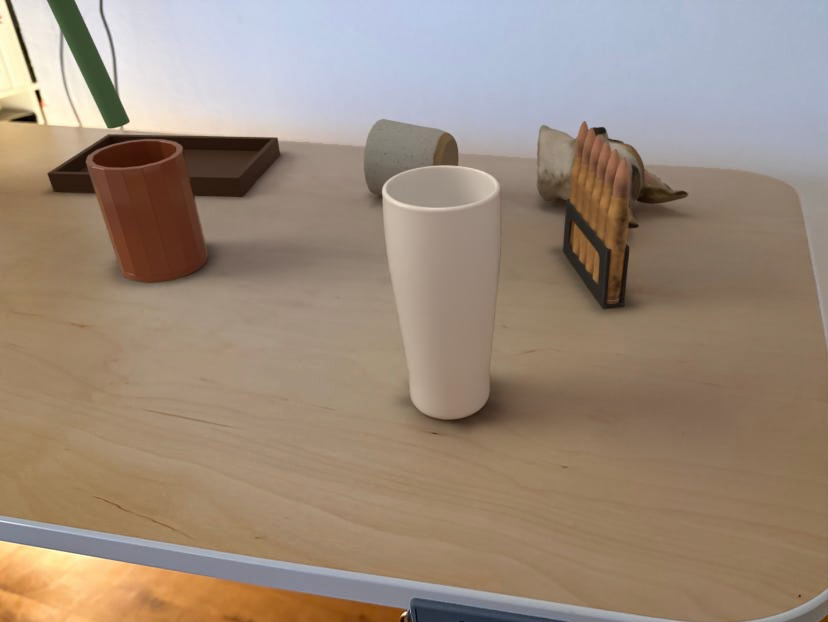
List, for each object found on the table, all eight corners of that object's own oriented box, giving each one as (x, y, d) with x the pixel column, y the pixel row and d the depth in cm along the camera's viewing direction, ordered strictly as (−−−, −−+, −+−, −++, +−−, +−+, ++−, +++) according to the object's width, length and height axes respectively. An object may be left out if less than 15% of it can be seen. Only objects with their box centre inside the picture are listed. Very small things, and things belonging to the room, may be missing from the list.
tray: (242, 196, 80) (238, 177, 78) (53, 191, 81) (46, 173, 80) (280, 154, 90) (277, 137, 89) (113, 150, 92) (107, 134, 91)
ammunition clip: (562, 250, 68) (570, 118, 61) (581, 248, 69) (591, 117, 62) (602, 309, 60) (617, 162, 53) (624, 306, 60) (641, 160, 53)
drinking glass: (405, 369, 53) (388, 163, 45) (501, 370, 53) (502, 164, 44) (393, 430, 48) (371, 209, 39) (500, 432, 47) (501, 210, 39)
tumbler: (105, 280, 64) (67, 168, 59) (144, 243, 70) (114, 138, 65) (188, 283, 64) (158, 170, 58) (220, 245, 70) (196, 139, 64)
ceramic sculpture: (573, 97, 78) (703, 134, 70) (565, 175, 83) (685, 219, 75) (508, 122, 71) (644, 167, 64) (504, 206, 76) (629, 256, 69)
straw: (135, 123, 61) (69, -109, 52) (124, 130, 60) (54, -107, 50) (82, 123, 61) (7, -107, 52) (70, 130, 60) (-9, -106, 51)
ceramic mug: (440, 214, 75) (437, 137, 71) (365, 205, 77) (358, 130, 73) (471, 178, 84) (470, 108, 79) (402, 171, 86) (398, 102, 81)
